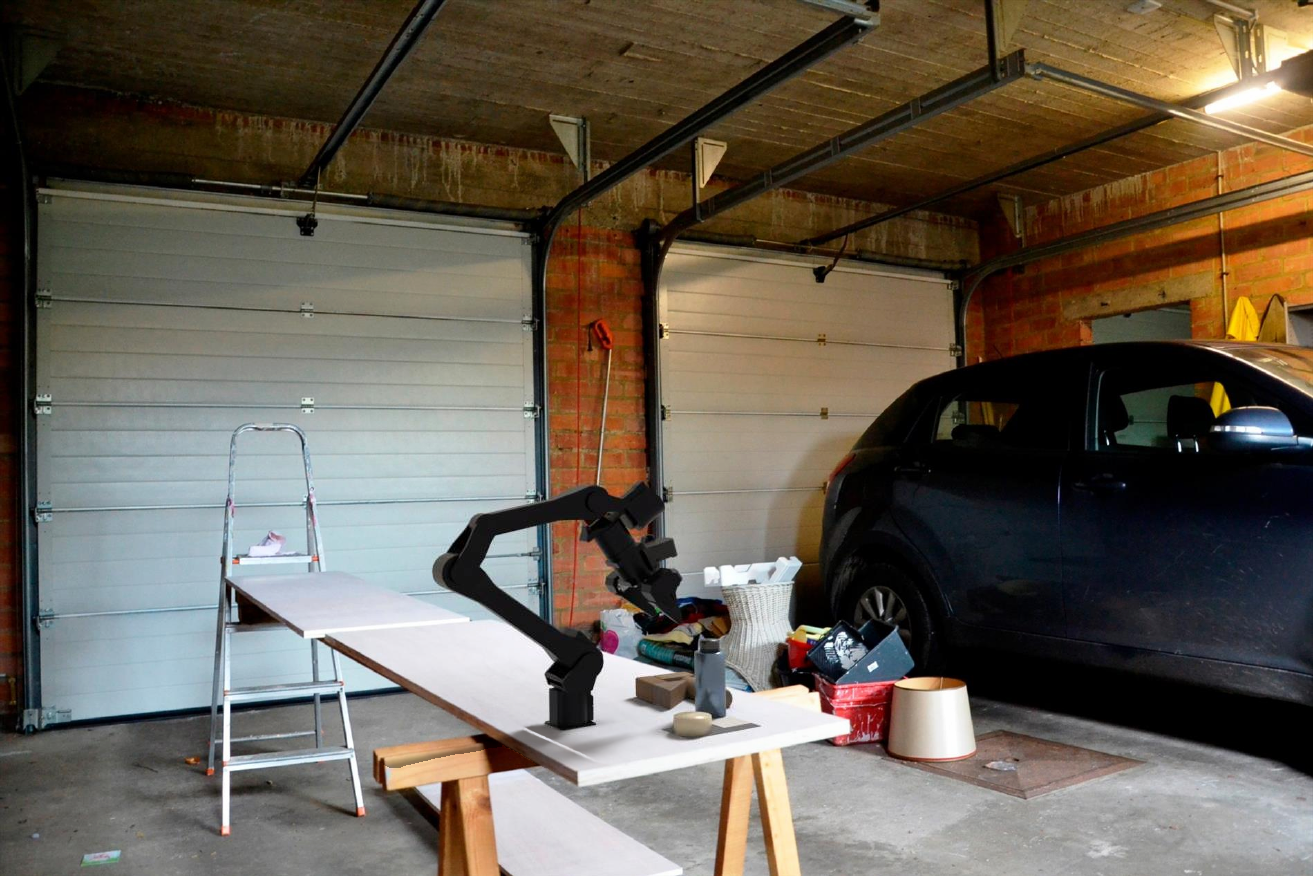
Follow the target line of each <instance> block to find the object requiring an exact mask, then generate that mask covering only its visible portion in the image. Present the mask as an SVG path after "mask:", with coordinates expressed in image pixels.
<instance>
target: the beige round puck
mask: <svg viewBox="0 0 1313 876" xmlns="http://www.w3.org/2000/svg"><path fill="white" fill-rule="evenodd" d="M712 720H713V719H712V716H711V714H709V713H705V712H695V711H684V712H683V711H682V712H677V713H676V714H674V715H673V727H674V733H675V734H674V735H676V734H677V735H676V736H678V735H680V736H679V737H681V736H690V737H695V736H704V735H708V734H710V733H712Z"/></svg>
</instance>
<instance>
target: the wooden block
mask: <svg viewBox="0 0 1313 876" xmlns="http://www.w3.org/2000/svg"><path fill="white" fill-rule="evenodd" d="M635 697H637V698H640V699H642V700H644V701H646V702H648V703H651V704H653V705H656V706H657V705H659V706H661V707H663V708H666V709H668V710H672V709H674V708H675V707H677V706H678V705H680V704H681V703H683V702H684V701H687V699H688V698H690V699H693V700H695V674H694V673H690V672H688V671H681V672H680V671H678V672H673V673H672V672H671V673H663V674H655V675H647V676H640V677H639V676H638V677H636V678H635ZM733 699H734V698H733V695H732V693H731V691H730V690H728V689H727V688H726V709H727V708H730V707H731V706H732V703H733Z"/></svg>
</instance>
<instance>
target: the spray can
mask: <svg viewBox="0 0 1313 876" xmlns="http://www.w3.org/2000/svg"><path fill="white" fill-rule="evenodd" d="M720 645H721V643H720V639H719V638H712V637H711V638H707V637H706V638H699V650H698V649H697V650H695V651H694V659H693V660H694V678H695V699H694V705H695V706H694V707H695V711H694V712H705V713H709V714H711V716H712V720H713V719H719V718H725V717H727V708H726V689H727V687H726V686H727V685H726V683H727V682H726V680H727V678H726V677H727V676H726V674H727V673H726V651H725V650H721V649H720Z"/></svg>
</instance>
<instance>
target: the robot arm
mask: <svg viewBox="0 0 1313 876" xmlns="http://www.w3.org/2000/svg"><path fill="white" fill-rule="evenodd" d="M665 511H666V507H665V502H664V501H663V499H662V498H661V496H660V495H659V494H657V493H656V492H655V491H654V490H653V489H652V488H651V487H648V485H647V484H646V483H645V482H644V481H643V480H642V481H636V482H634V484H633V485H632V486H631V487H630V488H629V489H628V490H627V491H625V493H624V494H622V495H621V496H620V497H618V496H614V495H611V494H609V492H608V491H607V489H606V488H604V487H603V486H602V485H600V484H583V485H582V484H578V485H576V486H573V487H571V488H569V489H567V490H564V491H562V492H560V493H558V494H556V495H555V496H552V497H550V498H548V499H544V500H540V501H536V502H530V503H527V504H522V505H517V506H513V507H509V508H503V509H499V510H495V511H490V512H486V513H484V512H483V513H482V512H480V513H476V514H474V515H473V516H472V517H471V518H470V520H469V522H468V523H467V524H466V526H465V527H464V529H463V530H462V531H461V532H460V533H459V535H458V536H457V537H456V538H455V539H454V541H453V542H452V543H451V545H450V546H449V548H448V549H447V551H446V552H445V553H443V554H441V555H439V556H438V557H437V558H436V559H435V561H434V562H433V564H432V568H431V569H432V570H431V573H432V579H433V581H434V582H435V583H436V584H437V586H439V587H441V588H443V589H445V590H447V591H450V592H452V593H454V594H456V595H458V596H459V595H460V596H461V597H463V598H466V599H468V600H471V601H473V602H475V603H478V604H479V605H481V606H482V607H483V608H484V609H486V610H488V611H489V612H490V613H492V614H493V615H495V616H496V617H498V618H499V619H500V620H502V621H503V622H505V623H506V624H508V625H509V626H511V627H512V628H513V629H515V630H516V631H517V632H519V633H520V634H522V635H523V636H524V637H526V638H527V639H529V640H530V641H532V642H533V643H535V644H536V645H538V646H539V647H540V648H542V650H544V652H545V653H546V655H547V656H548V657H549V659H551V661H552V662H553V663H552V664H551V665H550V666H549V667H548V668H547V670H546V671H545V672H544V673H543V674H544V678H545V680H546V683H547V685H548V686H552V687H551V688H548V716H549V717H548V720H545V721H544V724H545V725H548V726H550V727H552V728H555V729H556V730H559V731H568V730H575V729H580V728H581V729H582V728H587V727H592V726H597V722H595V721H594V719H595V718H594V708H595V707H594V704H595V703H594V695H593V694H592V692H593V690H594V687H595V686H596V685H595V684H596V681H597V679H598V676H599V675H600V674H601V672H602V670H603V668H604V663H605V661H604V654H603V652H602V650H600V648H598V647H597V646H598V645H599V644H600V643H598V642H596V641H593V640H591V639H589V638H588V637H587V636H586V635H585V634H584V633H583V632H582V631H581V630H578V629H576V628H572V627H569V626H565V628H564V631H563V632H562V631H561V630H559V629H558V628H557V627H556V626H554V625H553V624H551V623H549V622H548V621H547V620H545V619H544V618H542V617H541V616H539V615H538V614H537V613H536V612H534V610H531V609H530V608H528V606H525V605H524V604H523V603H521V602H520V601H518V600H517V599H515V598H514V597H513V596H511V595H510V594H509V593H507V592H506V591H505V590H504V589H502V588H501V587H499V586H497V584H495V582H494V581H493V580H492V579H491V577H490V576H489V574H488V573H487V572H486V571H485V570H484V569H483V568H482V567H481V565H482V564H483V562H484V560H485V559H486V558H487V554H488V552H489V549H490V546H491V545H492V544H491V543H492V541H494V538H495V537H496V536H499V535H504V534H509V533H512V532H517V531H521V530H525V529H530V528H534V527H538V526H542V525H546V524H550V523H551V524H552V523H555V522H558V521H559V522H560V521H562V522H563V521H586V520H587V521H589V520H591V521H592V520H595V521H594V522H593V523H591V524H590V525H583V524H582V525H581V527H580V530H581V532H580V534H579V539H578V541H579V542H582V543H591V542H592V541H593V540H594V542H595V544H596V545H597V546H598V548H599V549H600V551H601V552H602V554H603V556H604V557H605V558H606V560H605V561H604V563H605V564H606V566H607V567H609V568H613V569H612V570H613V571H611V572H610V573H609V574H608V575H606V576H605V582H604V586H606V588H607V589H608V592H610V593H612V594H614V595H615V596H616V597H618V598H620V599H622V600H623V601H625V602H626V603H628V604H630V605H632V606H634V607H635V608H636V609H638V610H640V611H641V612H643V613H644V614H647V616H650V617H651V618H655V617H656V616H657V615H658V612H657V610H658V611H660V612H661V613H662V614H664V616H666V617H667V618H669V619H670V620H672V621H673V622H675V623H676V624H678V625H679V624H680V623H681V622H683V615H682V612H681V609H680V605H679V601H678V597H677V589H678V587H680V585H681V582H682V581H683V576H682V575H681V573H680V572H679V570H678V569H675V568H670V567H669V568H666V567H661V566H660V564H659V562H663V561H665V560H667V559H670V558H676V557H678V551H677V548H676V544H675V539H674V537H665V536H661V537H655V535H654V534H649V533H648V534H644V535H642V536H641V537H640V542H638V541H636V540H635V538H634V537H633V535H632V533H631V532H630V531H629V530H631V531H633V530H636V531H638V532H639V531H642V530H643V529H644V528H645V527H647V526H648V525H650V523H651V522H653V521H654V520H655V519H657V517H659V516H660V515H661V514H663V513H664V512H665ZM608 513H610V514H609V515H608V516H607V517H605V516H606V515H607V514H608ZM657 568H658V569H657ZM656 569H657V570H656ZM654 570H655V572H654V573H653V571H654Z"/></svg>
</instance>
